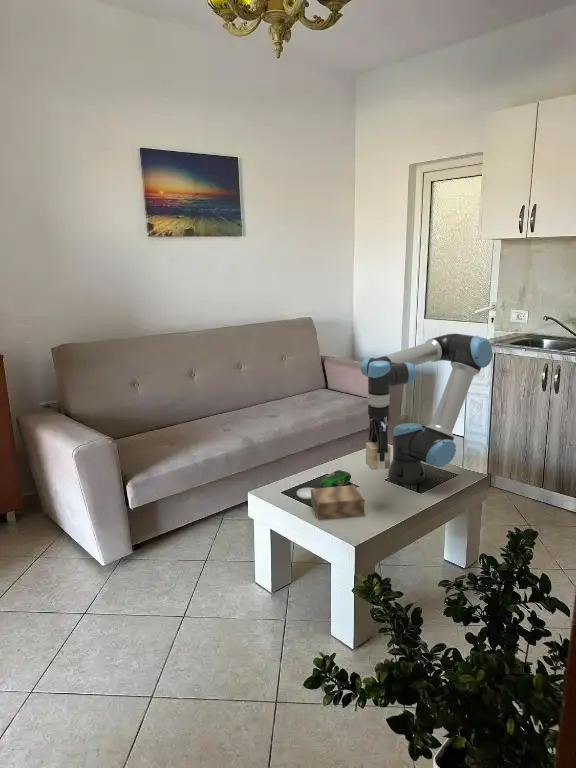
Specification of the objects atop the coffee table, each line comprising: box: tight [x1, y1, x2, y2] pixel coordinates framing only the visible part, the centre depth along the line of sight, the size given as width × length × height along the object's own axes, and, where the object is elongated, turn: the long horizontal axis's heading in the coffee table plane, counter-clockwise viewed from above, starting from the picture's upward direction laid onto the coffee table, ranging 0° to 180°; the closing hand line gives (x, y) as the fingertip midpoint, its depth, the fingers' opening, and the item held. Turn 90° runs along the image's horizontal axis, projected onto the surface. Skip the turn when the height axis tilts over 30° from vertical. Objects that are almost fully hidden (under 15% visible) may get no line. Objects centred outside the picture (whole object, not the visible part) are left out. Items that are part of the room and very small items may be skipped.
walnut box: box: [310, 484, 365, 521], centre depth 196 cm, size 17×13×6 cm
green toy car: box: [319, 469, 352, 488], centre depth 216 cm, size 7×16×5 cm, turn 138°
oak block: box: [365, 441, 392, 471], centre depth 193 cm, size 7×7×8 cm
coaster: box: [296, 487, 315, 500], centre depth 210 cm, size 9×9×1 cm
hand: (377, 464), depth 194 cm, fingers closed on oak block, 7 cm apart
